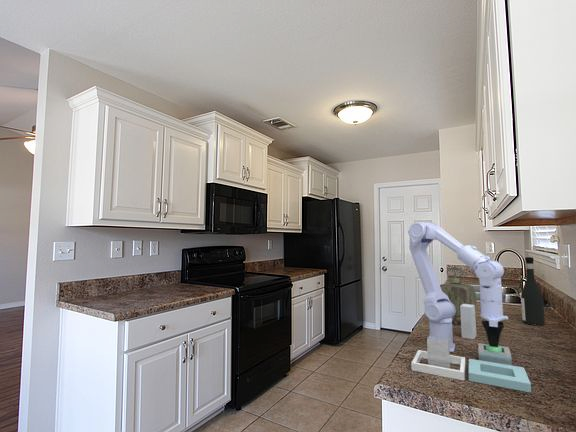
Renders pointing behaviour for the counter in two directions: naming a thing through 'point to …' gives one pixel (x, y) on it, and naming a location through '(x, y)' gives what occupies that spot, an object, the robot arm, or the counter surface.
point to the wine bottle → (532, 298)
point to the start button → (493, 348)
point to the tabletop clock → (459, 293)
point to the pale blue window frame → (499, 375)
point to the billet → (438, 351)
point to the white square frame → (439, 370)
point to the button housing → (495, 355)
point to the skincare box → (468, 321)
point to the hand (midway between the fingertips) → (493, 346)
